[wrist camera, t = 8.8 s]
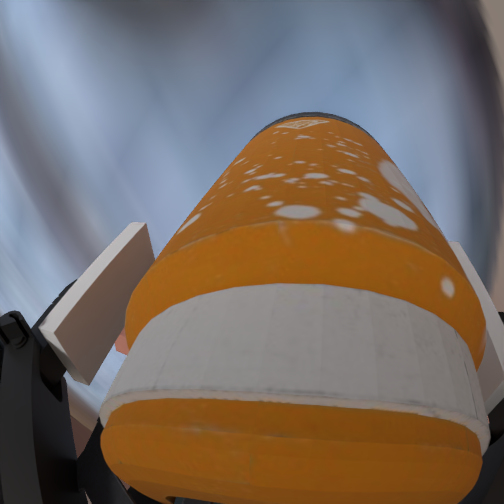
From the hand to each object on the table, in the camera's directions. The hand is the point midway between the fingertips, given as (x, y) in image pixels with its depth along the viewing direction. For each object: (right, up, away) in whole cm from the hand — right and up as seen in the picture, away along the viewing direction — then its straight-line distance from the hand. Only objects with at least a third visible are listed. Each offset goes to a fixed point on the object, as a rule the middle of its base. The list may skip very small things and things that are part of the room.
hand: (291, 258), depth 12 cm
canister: (+1, +4, +5) cm, 7 cm away
